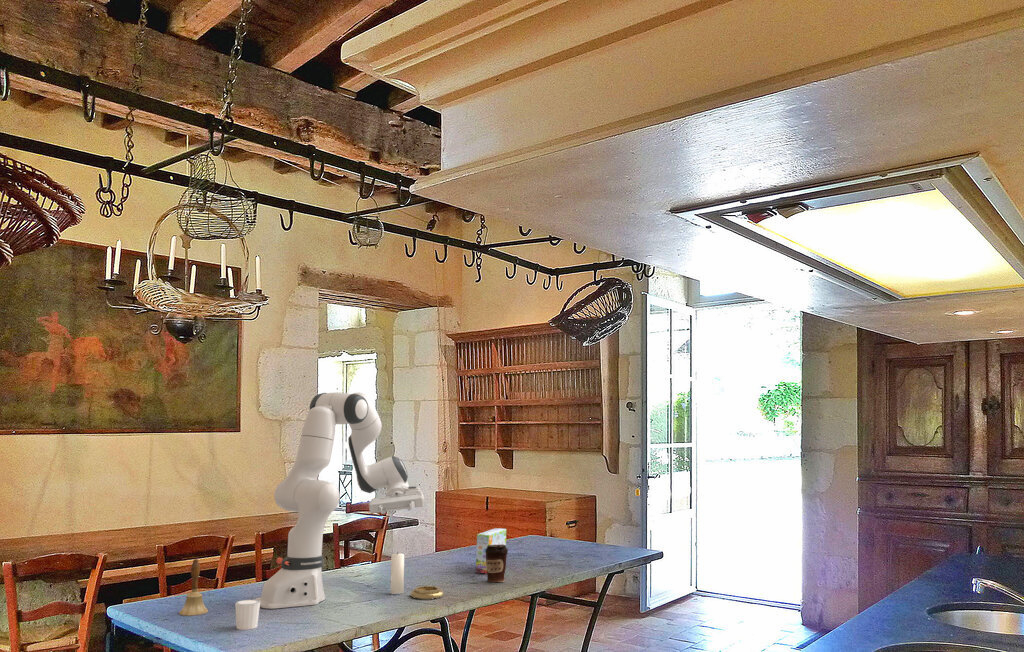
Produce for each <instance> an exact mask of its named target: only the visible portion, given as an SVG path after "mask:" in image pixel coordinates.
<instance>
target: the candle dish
mask: <svg viewBox="0 0 1024 652" xmlns="http://www.w3.org/2000/svg"><path fill="white" fill-rule="evenodd" d="M441 588H442V587H439V586H435V585H434V586H433V585H422V586H416V587H415V588H414V589H413V590H411V591H410V597H411V596H412V597H415V598H419V599H418V600H420V599H432V598H438V597H442V596H443V595H445V593H444V592H445V591H444V590H443V589H441ZM412 597H411V598H412ZM443 597H444V596H443ZM443 597H442V598H443ZM432 600H433V599H432Z"/></svg>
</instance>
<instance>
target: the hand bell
mask: <svg viewBox="0 0 1024 652" xmlns="http://www.w3.org/2000/svg"><path fill="white" fill-rule="evenodd" d="M199 562H200V561H199V559H198V558H195V559H193V561H192V564H191V568H190V576H191V581H192V582H191V583H192V584H191V586H192V587H191V592H189V593H188V594H187V595H186V599H185V603H184V605H183V607H182V608H181V610H180V611H179V613H178V614H179V615H180V616H183V617H192V616H193V617H195V616H201V615H205V614H208V612H209V610H208V608H207V607H206V605H205V604H204V599H203V593H200V592H199V590H198V589H199V587H198V586H199V585H198V584H199V578H200V573H201V565H200V563H199Z"/></svg>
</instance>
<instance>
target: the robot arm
mask: <svg viewBox="0 0 1024 652" xmlns="http://www.w3.org/2000/svg"><path fill="white" fill-rule="evenodd" d="M348 424H349V425H348ZM336 425H348V426H349V427H350V429H351V432H350V433H351V434H350V435H349V436H348V443H347V444H348V448H349V452H350V456H351V459H352V463H353V466H354V470H355V471H354V472H355V473H356V474H355V475H356V482H357V485H358V487H359V489H360V491H362V492H365V493H367V494H372V493H373V492H375V491H378V490H379V489H382V488H384V487H386V486H387V487H386V493H385V496H380V497H379V496H378V497H374V498H372V499H371V500H370V501H369V502H368V508H369V513H371V514H378V513H381V515H384V514H386V513H387V512H393V511H401V510H407V511H412V510H413V509H414V508H422V507H425V498H424V497H425V495H424V493H423V492H422V490H421V489H420V486H410V485H409V482H408V477H409V476H408V475H409V474H408V471H407V468H406V466H405V464H404V462H403V461H402V459H400V458H399V457H397V456H394V455H391V456H389V457H386V458H384V459H382V460H380V461H377V462H374V463H372V464H370V465H366V464H365V461H364V457H363V452H364V451H365V449H366V448H367V447H368V446H369V445H371V444H372V443H373V442H374V441H376V440H377V438H379V435H380V433H381V432H382V426H383V425H382V420H381V417H380V415H379V413H378V410H377V409H376V407H375V405H374V404H373V403H372V401H371V400H370V399H369V397H368V396H367V395H366V394H365V393H363V392H353V393H347V392H345V393H344V392H338V391H337V392H328V393H327V392H322V393H317V394H316V395H314V397H313V398H312V399H311V401H310V404H309V410H308V412H307V414H306V417H305V420H304V423H303V426H302V430H301V435H300V440H299V445H298V449H297V454H296V458H295V461H294V463H293V465H292V467H291V469H290V471H289V472H288V474H287V475H286V477H285V478H284V479H283V480H282V481H281V482H279V483H278V485H277V486H276V487H275V491H274V501H275V504H276V505H277V506H278V507H279V508H281V509H283V510H285V511H287V512H292V513H299V515H298V519H297V522H296V524H295V525H294V526H293V527H291V529H290V530H289V531H288V535H287V536H288V537H287V555H286V556H285V557H284V558H283V557H280V556H279V557H277V558H276V561H275V562H276V564H278V565H281V568H280V569H279V570H278V571H277V572H275V574H273V575H272V576H271V577H270V578H269V579H267V580H266V581H265V582H264V584H263V586H262V590H261V596H260V597H256V598H254V600H259V601H260V608H263V609H270V610H271V609H272V610H274V609H281V608H283V609H285V608H293V607H302V606H303V607H304V606H306V607H307V606H314V605H315V606H316V605H318V604H319V603H320V602H322V601H324V600H326V594H325V592H324V584H323V573H322V572H323V569H324V554H322V553H323V537H324V536H323V535H324V531H325V526H326V523H327V520H328V518H329V516H330V515H331V514H332V513H333V512H334V511H335V510H336V509H337V507H338V506H339V503H340V499H341V497H340V496H341V495H340V491H339V488H338V487H337V485H335V483H334V484H333V483H331V482H328V481H327V480H326V481H325V480H320V479H318V477H319V475H320V474H321V472H322V471H323V470H324V469H325V468H326V467H328V466H329V464H330V462H331V458H332V452H333V446H334V440H335V435H336Z"/></svg>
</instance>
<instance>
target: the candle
mask: <svg viewBox="0 0 1024 652" xmlns="http://www.w3.org/2000/svg"><path fill="white" fill-rule="evenodd" d="M390 556H391V557H390V559H391V561H390V594H391V593H394V594H396V593H403V594H404V587H405V586H404V584H405V583H404V581H405V579H404V577H405V554H404V553H399V551H397V553H391V555H390Z"/></svg>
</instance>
